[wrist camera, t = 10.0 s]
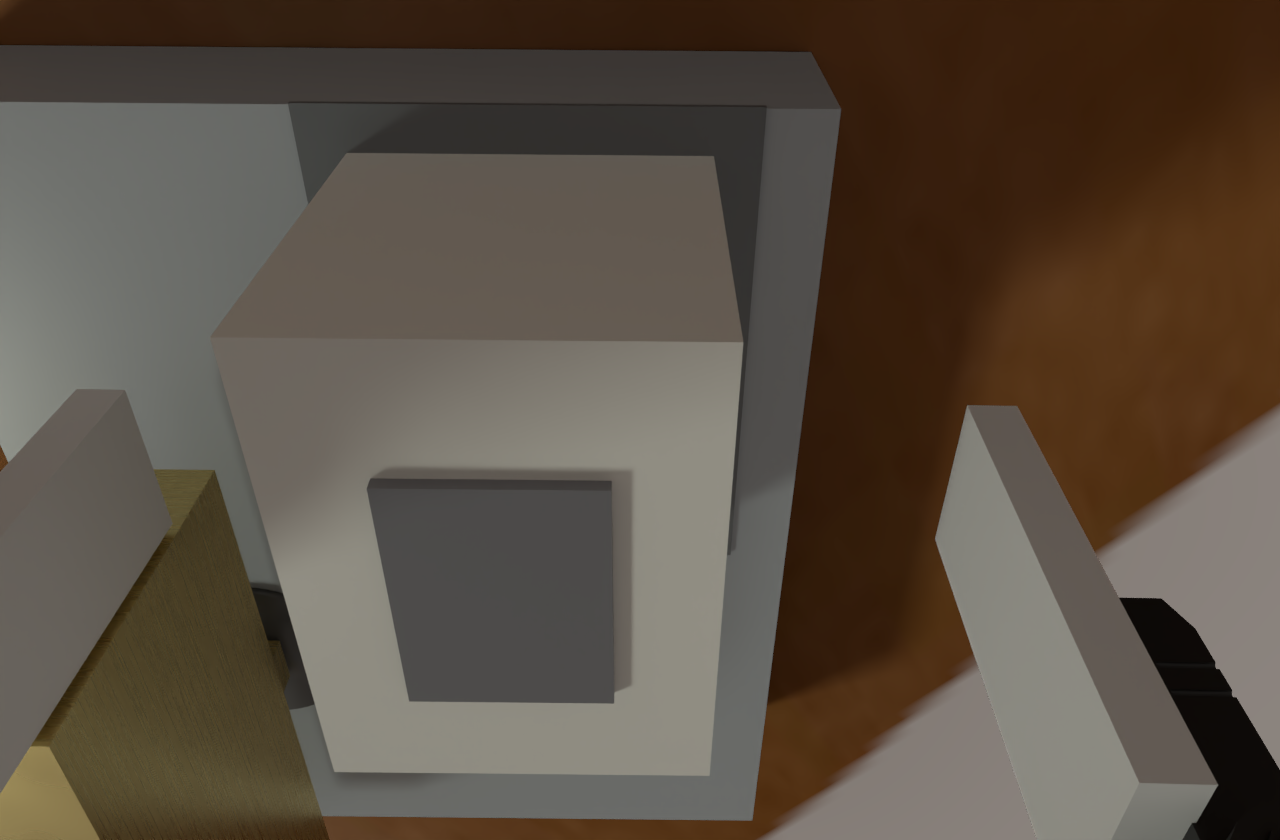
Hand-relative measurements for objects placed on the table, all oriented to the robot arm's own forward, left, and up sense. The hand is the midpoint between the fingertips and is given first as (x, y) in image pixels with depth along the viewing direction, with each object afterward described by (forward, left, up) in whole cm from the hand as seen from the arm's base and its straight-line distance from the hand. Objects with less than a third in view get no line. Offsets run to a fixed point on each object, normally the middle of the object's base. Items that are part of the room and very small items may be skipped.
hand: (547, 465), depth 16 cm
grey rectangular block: (0, 0, -3) cm, 3 cm away
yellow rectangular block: (-7, -8, -3) cm, 11 cm away
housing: (-3, -5, -7) cm, 9 cm away
